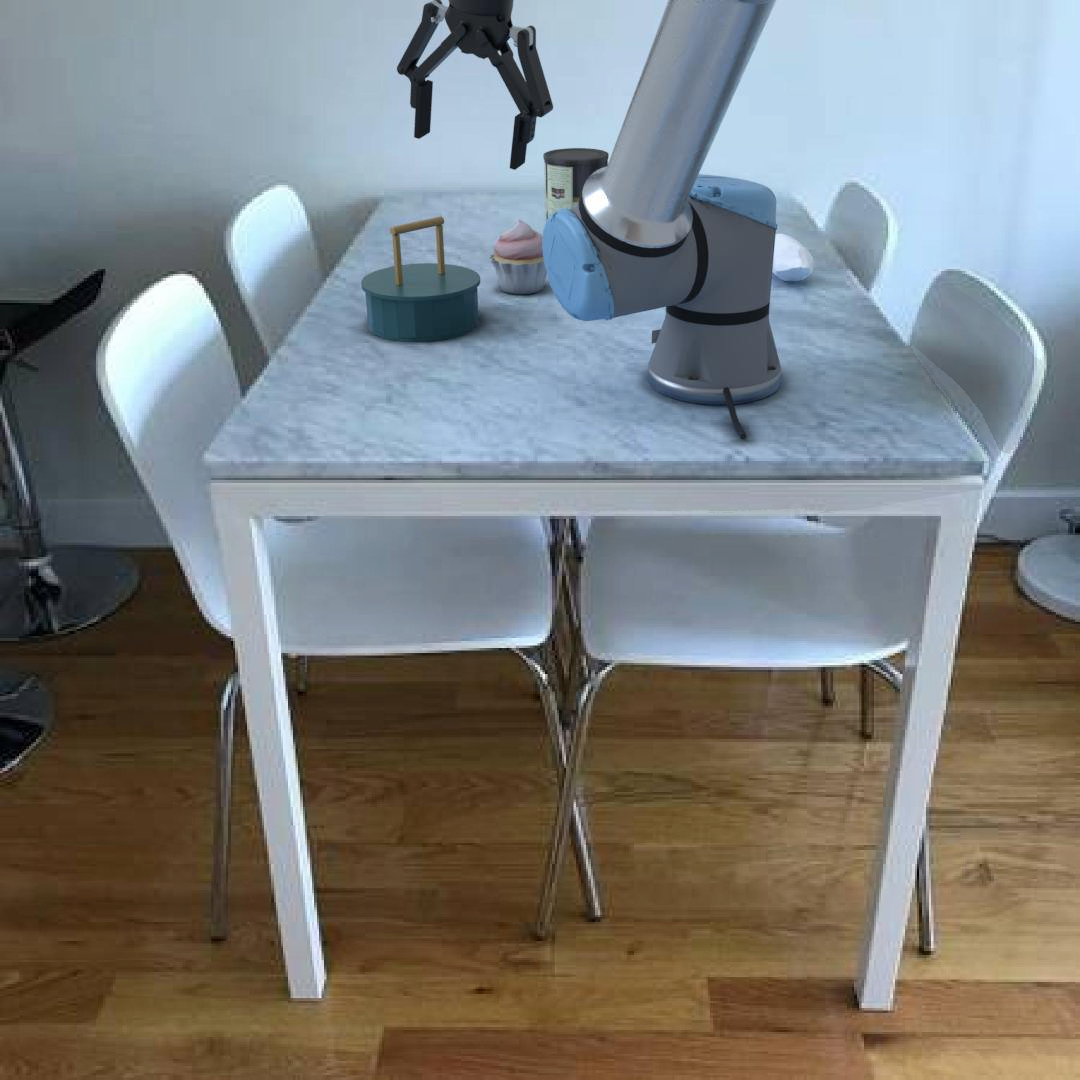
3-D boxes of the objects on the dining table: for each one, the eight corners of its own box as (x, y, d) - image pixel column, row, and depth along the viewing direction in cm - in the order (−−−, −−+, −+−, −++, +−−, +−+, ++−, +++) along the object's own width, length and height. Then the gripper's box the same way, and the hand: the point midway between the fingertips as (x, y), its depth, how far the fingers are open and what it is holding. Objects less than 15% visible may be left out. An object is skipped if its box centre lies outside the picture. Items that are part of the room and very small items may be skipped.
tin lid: (505, 287, 161) (503, 221, 157) (410, 313, 152) (405, 243, 148) (431, 265, 172) (427, 202, 167) (338, 288, 162) (332, 222, 158)
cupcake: (514, 276, 184) (513, 208, 179) (566, 286, 179) (565, 216, 174) (476, 291, 177) (473, 221, 172) (528, 302, 172) (526, 230, 167)
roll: (780, 293, 174) (783, 253, 171) (757, 270, 185) (760, 232, 182) (821, 291, 175) (825, 252, 172) (796, 268, 185) (799, 231, 182)
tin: (500, 323, 164) (499, 283, 161) (413, 349, 155) (410, 307, 152) (432, 301, 173) (430, 262, 171) (346, 324, 165) (343, 284, 162)
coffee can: (611, 235, 204) (613, 148, 198) (602, 251, 195) (603, 160, 189) (551, 233, 206) (550, 146, 199) (538, 249, 197) (537, 158, 190)
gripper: (595, -10, 139) (571, 168, 153) (405, -62, 146) (399, 113, 160) (567, 6, 134) (544, 189, 148) (371, -49, 141) (367, 131, 154)
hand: (469, 150), depth 154 cm, fingers open, 13 cm apart
